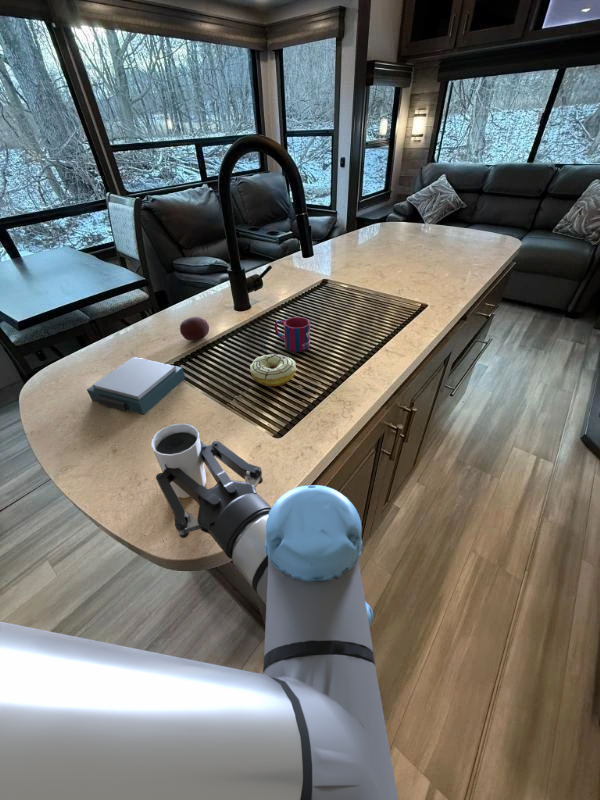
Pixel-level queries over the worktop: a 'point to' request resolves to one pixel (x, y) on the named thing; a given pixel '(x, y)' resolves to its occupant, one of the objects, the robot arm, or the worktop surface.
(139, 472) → the worktop surface
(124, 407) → the scale
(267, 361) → the decorated donut
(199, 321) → the plum
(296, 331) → the mug
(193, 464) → the white coffee cup
